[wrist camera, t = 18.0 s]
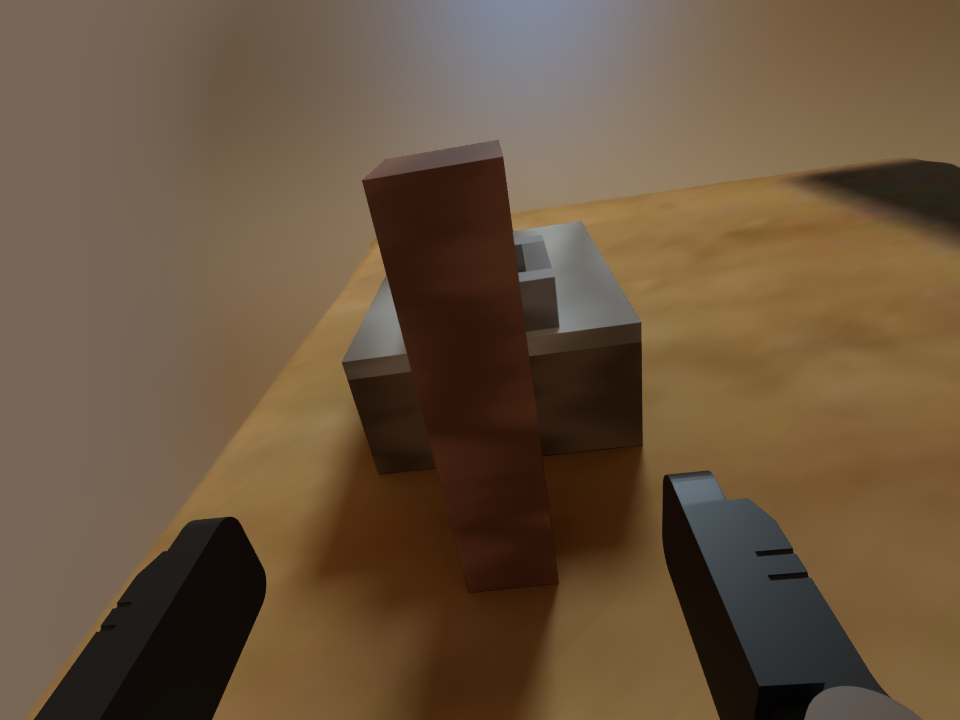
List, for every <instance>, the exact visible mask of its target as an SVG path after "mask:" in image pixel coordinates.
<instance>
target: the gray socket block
mask: <svg viewBox="0 0 960 720" xmlns="http://www.w3.org/2000/svg"><path fill="white" fill-rule="evenodd" d="M513 237H514V244H515V252H516V260H517V267H518V275H519V283H520V290H521V298H522V305H523V313H524V321H525V328H526V336H527V344H528V351H529V359H530V367H531V374H532V382H533V390H534V397H535V405H536V413H537V420H538V428H539V436H540V443H541V451H542V456H546V455H554V454H563V453H572V452H581V451H590V450H599V449H608V448H617V447H626V446H635V445H643V432H642V345H641V321H640V319H639V318H638V316H637V314H636V313H635V311H634V309H633V308H632V306H631V304H630V302H629V301H628V299H627V297H626V296H625V294H624V292H623V291H622V289H621V287H620V286H619V284H618V282H617V281H616V279H615V277H614V276H613V274H612V272H611V271H610V269H609V267H608V265H607V264H606V262H605V260H604V259H603V257H602V255H601V254H600V252H599V250H598V249H597V247H596V245H595V244H594V242H593V240H592V239H591V237H590V235H589V234H588V232H587V230H586V228H585V227H584V225H583V223H582V222H581V221H578V222H571V223H565V224H558V225H552V226H545V227H538V228H532V229H525V230H519V231H513ZM342 364H343V367H344V370H345V373H346V376H347V380H348V383H349V386H350V389H351V392H352V395H353V398H354V401H355V404H356V407H357V410H358V413H359V416H360V419H361V422H362V425H363V428H364V431H365V434H366V437H367V440H368V443H369V446H370V449H371V452H372V455H373V458H374V461H375V465H376V468H377V471H378V474H385V473H394V472H403V471H412V470H421V469H430V468H436V464H435V461H434V457H433V453H432V449H431V445H430V441H429V437H428V434H427V430H426V426H425V422H424V418H423V414H422V410H421V406H420V403H419V399H418V395H417V391H416V387H415V383H414V379H413V376H412V372H411V368H410V364H409V360H408V356H407V352H406V348H405V345H404V341H403V337H402V333H401V329H400V325H399V321H398V318H397V314H396V310H395V306H394V302H393V298H392V294H391V290H390V287H389V283H388V279H387V275H386V277H385V279H384V281H383V283H382V284H381V286H380V288H379V290H378V292H377V294H376V296H375V298H374V300H373V302H372V304H371V306H370V308H369V310H368V312H367V314H366V316H365V318H364V320H363V322H362V324H361V326H360V328H359V329H358V331H357V333H356V335H355V337H354V339H353V341H352V343H351V345H350V347H349V349H348V351H347V353H346V355H345V357H344V359H343V361H342Z"/></svg>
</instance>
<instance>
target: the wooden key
mask: <svg viewBox="0 0 960 720" xmlns="http://www.w3.org/2000/svg"><path fill="white" fill-rule="evenodd" d="M362 182H363V186H364V190H365V194H366V197H367V202H368V205H369V209H370V213H371V217H372V221H373V225H374V229H375V232H376V236H377V240H378V244H379V248H380V252H381V256H382V260H383V263H384V267H385V271H386V275H387V279H388V283H389V287H390V290H391V294H392V298H393V302H394V306H395V310H396V314H397V318H398V321H399V325H400V329H401V333H402V337H403V341H404V345H405V348H406V352H407V356H408V360H409V364H410V368H411V372H412V376H413V379H414V383H415V387H416V391H417V395H418V399H419V403H420V406H421V410H422V414H423V418H424V422H425V426H426V430H427V434H428V437H429V441H430V445H431V449H432V453H433V457H434V461H435V464H436V468H437V472H438V476H439V480H440V484H441V488H442V492H443V495H444V499H445V503H446V507H447V511H448V515H449V519H450V522H451V526H452V530H453V534H454V538H455V542H456V546H457V550H458V553H459V557H460V561H461V565H462V569H463V573H464V577H465V580H466V584H467V588H468V592H469V593H471V592H480V591H490V590H499V589H509V588H518V587H528V586H537V585H546V584H556V583H559V581H558V573H557V566H556V558H555V550H554V543H553V535H552V528H551V520H550V512H549V505H548V497H547V489H546V482H545V474H544V466H543V459H542V451H541V443H540V436H539V428H538V420H537V413H536V405H535V397H534V390H533V382H532V374H531V367H530V359H529V351H528V344H527V336H526V328H525V321H524V313H523V305H522V298H521V290H520V283H519V275H518V267H517V260H516V252H515V244H514V237H513V229H512V221H511V214H510V206H509V199H508V191H507V183H506V175H505V168H504V160H503V155H502V151H501V147H500V144H499V140H495V141H489V142H484V143H478V144H472V145H466V146H460V147H455V148H449V149H444V150H437V151H432V152H426V153H420V154H414V155H409V156H402V157H397V158H391V159H386V160H384V161H383V162H382V163H380V164H379V165H378V166H377V167H376V168H375V169H374V170H373V171H372V172H371V173H370V174H369V175H367V176H366V177H365V178H364V179H363V180H362Z"/></svg>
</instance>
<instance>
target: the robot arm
mask: <svg viewBox="0 0 960 720" xmlns="http://www.w3.org/2000/svg"><path fill="white" fill-rule="evenodd" d="M662 539H663V548H664V554H665V559H666V563H667V567H668V570H669V574H670V576H671V579H672V582H673V585H674V588H675V591H676V594H677V597H678V600H679V602H680V605H681V608H682V611H683V614H684V617H685V620H686V623H687V626H688V628H689V631H690V634H691V637H692V640H693V643H694V646H695V649H696V652H697V654H698V657H699V660H700V663H701V666H702V669H703V672H704V675H705V678H706V680H707V683H708V686H709V689H710V692H711V695H712V698H713V701H714V704H715V706H716V709H717V712H718V715H719V718H720V720H922V719H921V718H920V717H918V716H917V715H916V714H915V713H914V712H912V711H911V710H909V709H908V708H906V707H905V706H903V705H902V704H900V703H899V702H897V701H895V700H893V699H892V698H891V697H889V696H888V695H887V693H886V692H885V691H884V690H883V689H882V688H881V687H880V685H879V684H878V683H877V681H876V680H875V679H874V677H873V676H872V674H871V673H870V671H869V670H868V668H867V667H866V665H865V663H864V662H863V660H862V658H861V657H860V655H859V654H858V652H857V650H856V649H855V647H854V646H853V644H852V642H851V641H850V639H849V638H848V636H847V634H846V633H845V631H844V630H843V628H842V626H841V625H840V623H839V622H838V620H837V618H836V617H835V615H834V614H833V612H832V610H831V609H830V607H829V606H828V604H827V602H826V601H825V599H824V598H823V596H822V594H821V593H820V591H819V590H818V588H817V586H816V585H815V583H814V581H813V580H812V578H809V577H808V573H807V570H806V569H805V567H804V565H803V564H802V562H801V561H800V559H799V557H798V556H797V554H794V552H793V548H792V546H791V545H790V543H789V541H788V540H787V538H786V537H785V535H784V533H783V532H782V530H781V529H780V527H779V525H778V524H777V522H776V521H775V520H774V519H773V518H772V517H771V516H769V515H768V514H767V513H766V512H764V511H763V510H762V509H761V508H759V507H758V506H757V505H756V504H754V503H753V502H752V501H751V500H749V499H748V498H746V499H735V500H727V499H726V497H725V495H724V494H723V492H722V490H721V488H720V486H719V484H718V483H717V481H716V479H715V477H714V475H713V474H712V473H711V472H710V471H699V472H689V473H679V474H669V475H665V476H664V479H663V518H662ZM265 593H266V575H265V571H264V569H263V566H262V564H261V563H260V561H259V559H258V557H257V555H256V553H255V551H254V549H253V547H252V545H251V543H250V541H249V539H248V537H247V536H246V534H245V532H244V530H243V528H242V526H241V524H240V522H239V521H238V520H237V519H236V518H234V517H222V518H212V519H202V520H194V521H191V522H189V523H188V524H187V525H185V527H184V528H183V529H182V530H181V532H180V533H179V535H178V536H177V538H176V539H175V541H174V542H173V544H172V545H171V547H170V548H169V549H168V551H164V552H162V553H161V554H160V555H159V556H158V557H157V558H156V559H154V560H153V561H152V562H151V563H150V564H149V565H148V566H147V567H146V568H145V569H143V570H142V571H141V572H140V573H139V574H138V575H137V576H136V577H135V579H134V580H133V581H132V583H131V584H130V586H129V587H128V588H127V590H126V591H125V593H124V594H123V595H122V597H121V598H120V600H119V601H118V602H117V608H114V609H112V611H111V612H110V614H109V615H108V616H107V618H106V619H105V621H104V622H103V623H102V625H101V630H100V632H96V633H95V635H94V636H93V637H92V639H91V640H90V642H89V643H88V644H87V646H86V647H85V649H84V650H83V651H82V653H81V654H80V656H79V657H78V658H77V660H76V661H75V663H74V664H73V665H72V667H71V668H70V670H69V671H68V672H67V674H66V675H65V677H64V678H63V680H62V681H61V682H60V684H59V685H58V687H57V688H56V689H55V691H54V692H53V694H52V695H51V696H50V698H49V699H48V701H47V702H46V703H45V705H44V706H43V708H42V709H41V710H40V712H39V713H38V715H37V716H36V717H35V719H34V720H212V718H213V716H214V714H215V712H216V709H217V707H218V705H219V702H220V700H221V698H222V696H223V693H224V691H225V689H226V687H227V684H228V682H229V680H230V677H231V675H232V673H233V671H234V668H235V666H236V664H237V661H238V659H239V657H240V655H241V652H242V650H243V648H244V645H245V643H246V641H247V639H248V636H249V634H250V632H251V629H252V627H253V625H254V623H255V620H256V618H257V616H258V613H259V611H260V609H261V607H262V604H263V602H264V598H265Z"/></svg>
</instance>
